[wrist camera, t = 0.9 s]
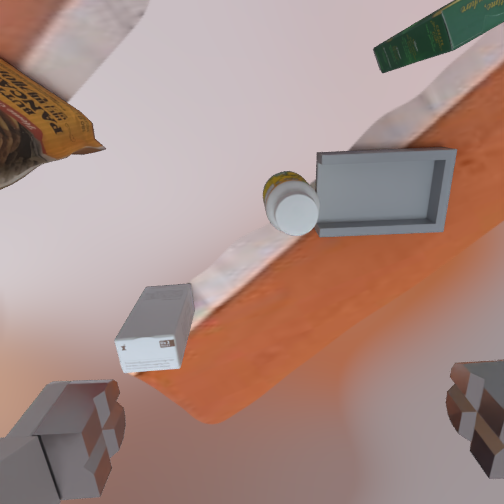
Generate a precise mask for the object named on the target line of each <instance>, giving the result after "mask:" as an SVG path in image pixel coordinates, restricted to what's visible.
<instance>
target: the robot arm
mask: <svg viewBox="0 0 504 504" xmlns="http://www.w3.org/2000/svg"><path fill="white" fill-rule="evenodd" d="M450 378H451V379H452V380H453V382H454V383H455V384H454V385H453V386H452V387H451V388H450V389H449V390H448V391H447V397H446V407H447V413H448V416H449V419H450V421H451V423H452V425H453V427H454V428H455V430H456V431H457V432H458V434H459V435H461V436H462V437H464V438H466V439H467V440H469V441H470V442H471V444H470V452H471V453H472V455H473V456H474V458H475V459H476V460H477V462H478V463H479V465H480V466H481V468H482V469H483V470H484V472H485V474H486V475H487V476H488V478H489V479H501V478H503V479H504V359H503V360H497V361H478V362H461V363H455V364H454V365H453V367H452V368H451V373H450ZM119 394H120V390H119V387H118V383H117V382H116V381H115V380H82V381H80V380H79V381H56V382H51V383H50V384H47V385H46V386H45V387H44V389H43V390H42V391H41V393H40V394H39V395H38V397H37V398H36V399H35V400H34V401H33V403H32V404H31V405H30V406H29V408H28V409H27V410H26V412H25V413H24V414H23V415H22V417H21V418H20V419H19V421H18V422H17V423H16V424H15V426H14V427H13V428H12V429H11V431H10V432H9V434H7V436H6V437H5V438H0V504H60V500H68V499H81V498H93V497H100V496H101V494H102V491H103V489H104V487H105V484H106V481H107V479H108V476H109V474H110V472H111V469H112V466H111V462H110V458H111V457H112V456H113V455H114V454H115V453H116V452H117V451H119V449H120V446H121V444H122V441H123V438H124V432H125V426H126V425H125V424H126V423H125V412H124V408H123V407H122V406H121V405H120V404H119V403H118V402H117V399H118V397H119Z"/></svg>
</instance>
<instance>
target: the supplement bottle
mask: <svg viewBox="0 0 504 504" xmlns="http://www.w3.org/2000/svg"><path fill="white" fill-rule="evenodd" d="M263 201H264V205H265V210H266V214H267V217H268V219H269V221H270V223H271V224H272V225H273V226H274V227H275V228H276V229H278V230H279V231H282V232H284V233H286V234H288V235H291V236H300V235H304V234H306V233H308V232H309V231H311V230H312V229H313V228H314V226H315V225H316V223H317V220H318V214H319V210H320V202H319V198H318V195H317V193H316V192H315V190H314V189H313V188H312V187H311V186H310V185H309V184H308V183H307V182H306V181H305V179H304V178H302V176H300V175H299V174H297V173H294V172H291V171H284V172H280V173H278V174H275V175H273V176H272V177H271V178H270V179H269V180H268V181H267V182H266V184H265V186H264V190H263Z"/></svg>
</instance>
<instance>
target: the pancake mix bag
mask: <svg viewBox="0 0 504 504" xmlns="http://www.w3.org/2000/svg"><path fill="white" fill-rule="evenodd" d="M105 149H106V148H105V147H104V146H103V145H102V144H100V143H99V142H98V141H97V140H96V139H95V136H94V129H93V123H92V122H91V121H90V120H89V119H88V118H87V117H85V116H84V115H83V114H82V113H81V112H80V111H79V110H77V109H76V108H74V107H73V106H71V105H70V104H68V103H67V102H65V101H64V100H62V99H61V98H59V97H57V96H56V95H54V94H53V93H51V92H50V91H48V90H47V89H45V88H44V87H42V86H41V85H39V84H38V83H36V82H34V81H33V80H31V79H30V78H28V77H27V76H25V75H24V74H22V73H21V72H20V71H18V70H17V69H15V68H14V67H12V66H11V65H9V64H8V63H7V62H5V61H4V60H2V59H1V58H0V190H1V189H3V188H5V187H8V186H10V185H12V184H14V183H15V182H17V181H18V180H20V179H22V178H23V177H25V176H26V175H27V174H29V173H30V172H31V171H33V170H34V169H35V168H37V167H38V166H40V165H41V164H44V163H48V162H52V161H56V160H60V159H64V158H67V157H68V156H70V155H71V154H81V155H82V154H83V155H84V154H89V153H94V152H98V151H102V150H105Z"/></svg>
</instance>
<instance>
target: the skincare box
mask: <svg viewBox="0 0 504 504" xmlns="http://www.w3.org/2000/svg"><path fill="white" fill-rule="evenodd" d="M194 312H195V310H194V303H193V296H192V289H191V284H178V285H165V286H151V287H146V288H145V289H144V291H143V293H142V294H141V296H140V298H139V300H138V301H137V303H136V304H135V306H134V308H133V310H132V311H131V313H130V315H129V317H128V318H127V319H126V321H125V323H124V325H123V326H122V328H121V330H120V332H119V333H118V335H117V336H116V338H115V345H116V349H117V352H118V356H119V359H120V363H121V367H122V370H123V372H124V373H131V372H142V371H154V370H166V369H179V368H180V367H181V364H182V360H183V356H184V351H185V348H186V344H187V340H188V336H189V332H190V328H191V324H192V320H193V316H194Z"/></svg>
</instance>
